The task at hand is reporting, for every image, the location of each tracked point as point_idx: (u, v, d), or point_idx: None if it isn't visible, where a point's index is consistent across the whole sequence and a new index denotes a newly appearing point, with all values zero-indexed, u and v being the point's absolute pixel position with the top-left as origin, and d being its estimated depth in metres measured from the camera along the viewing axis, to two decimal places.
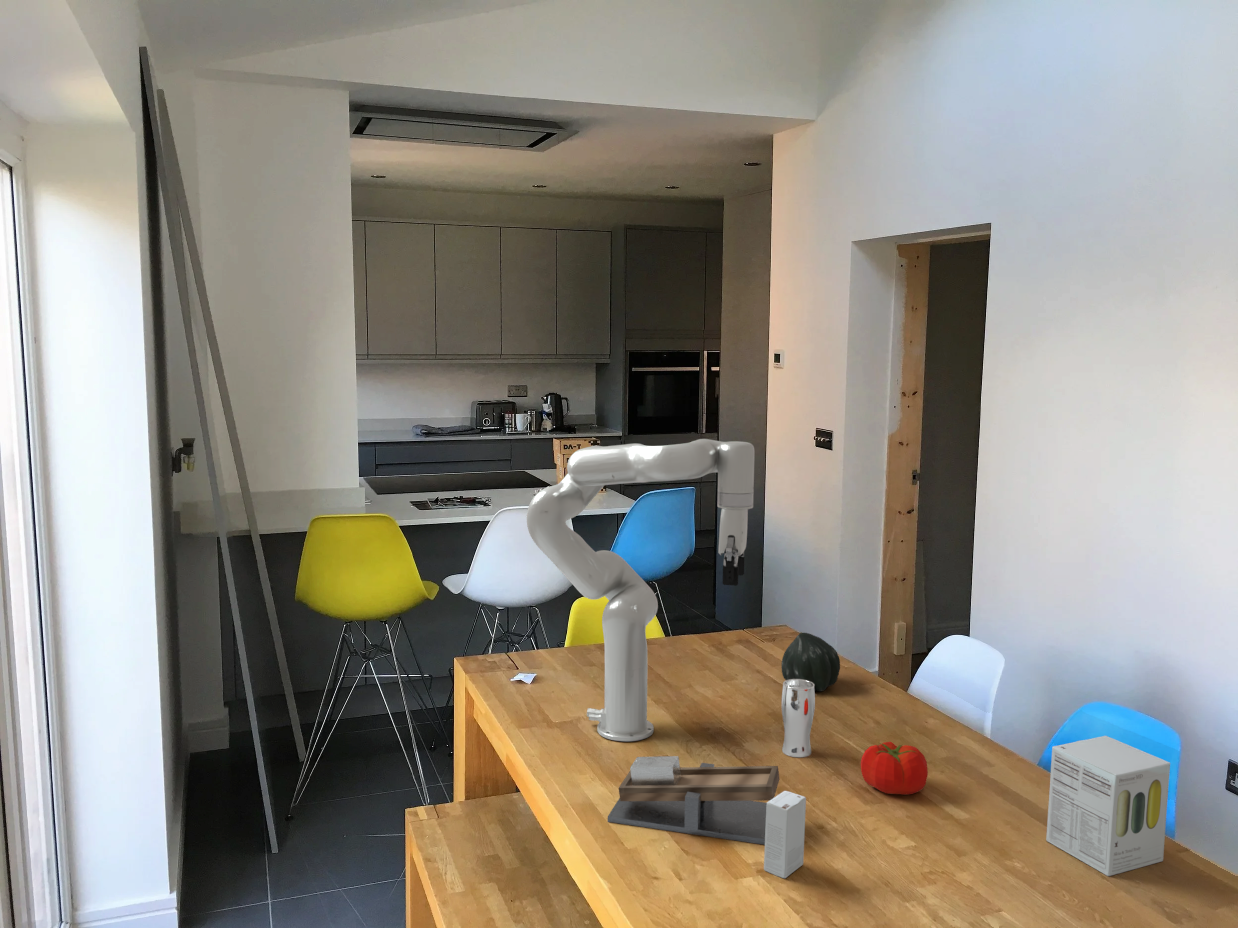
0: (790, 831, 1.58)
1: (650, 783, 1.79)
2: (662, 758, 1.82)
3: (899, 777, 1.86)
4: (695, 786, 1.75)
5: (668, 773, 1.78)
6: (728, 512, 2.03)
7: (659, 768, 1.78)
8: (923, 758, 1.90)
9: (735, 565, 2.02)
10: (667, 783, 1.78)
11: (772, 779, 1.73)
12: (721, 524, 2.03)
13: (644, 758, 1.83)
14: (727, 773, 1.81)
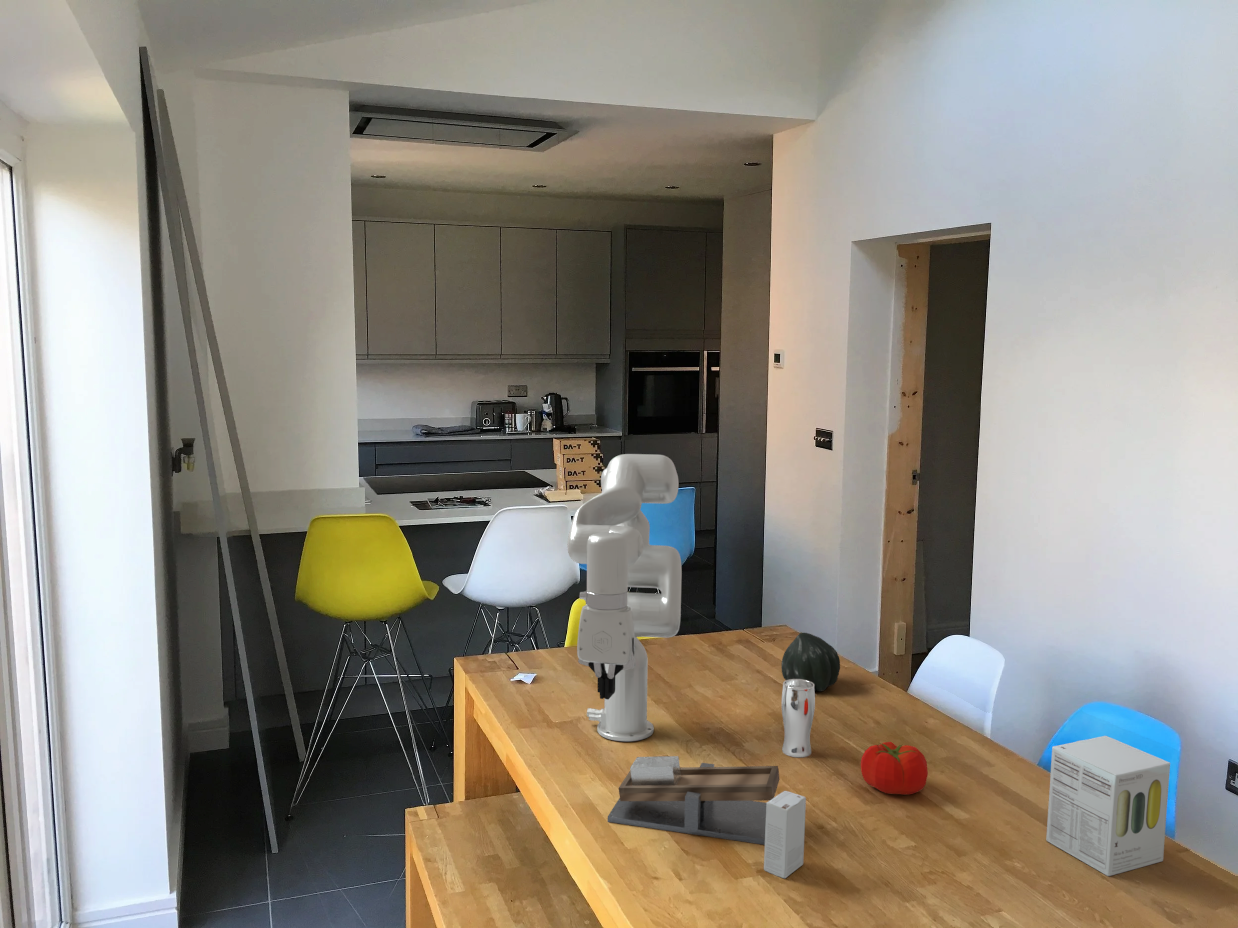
0: (790, 832, 1.58)
1: (650, 783, 1.79)
2: (662, 758, 1.82)
3: (899, 777, 1.86)
4: (695, 786, 1.75)
5: (668, 773, 1.78)
6: (629, 613, 1.78)
7: (659, 768, 1.78)
8: (923, 758, 1.90)
9: None
10: (667, 783, 1.78)
11: (772, 779, 1.73)
12: (628, 629, 1.77)
13: (644, 758, 1.83)
14: (727, 773, 1.81)
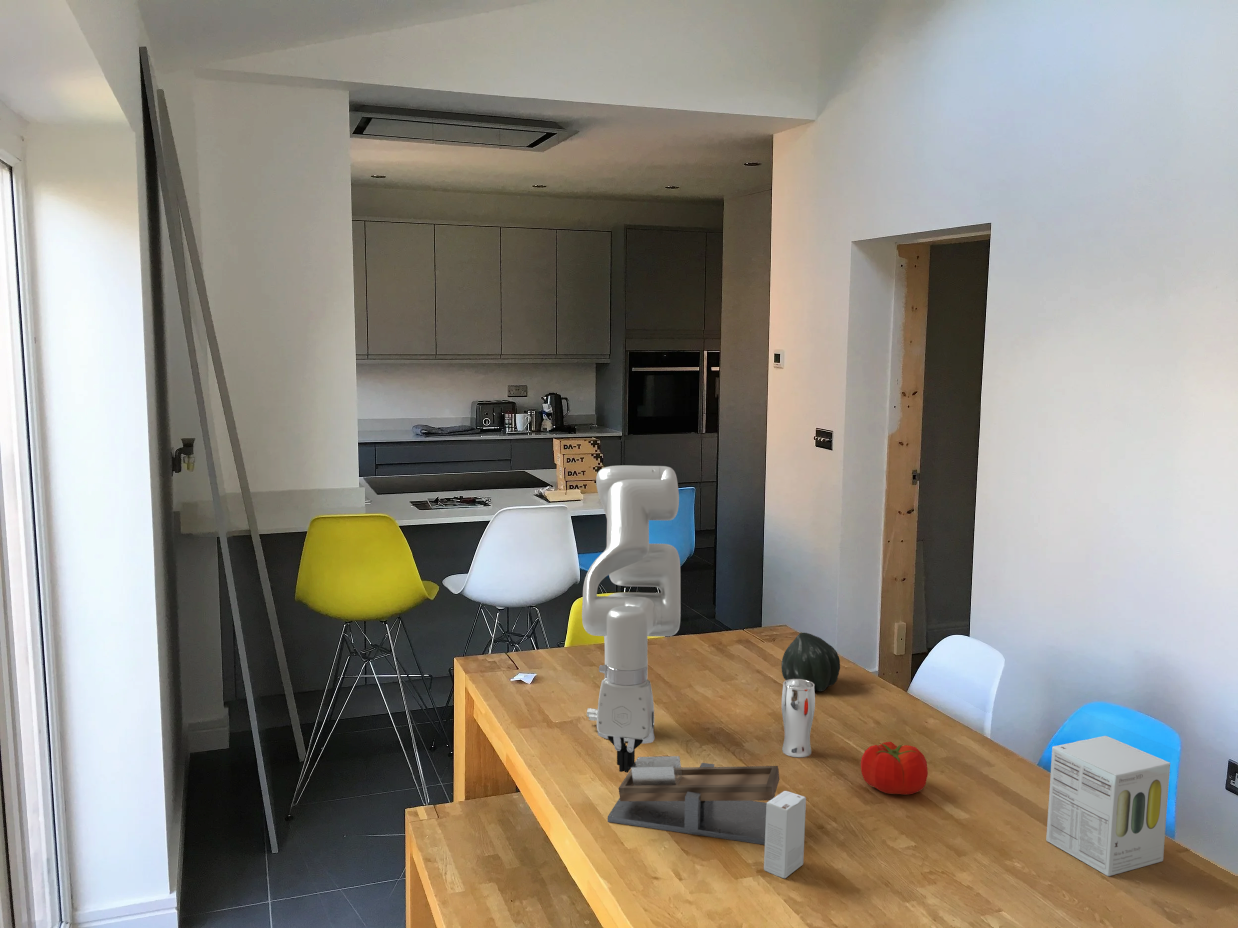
0: (790, 832, 1.58)
1: (651, 783, 1.79)
2: (663, 758, 1.82)
3: (899, 777, 1.86)
4: (695, 786, 1.75)
5: (669, 773, 1.78)
6: (649, 687, 1.79)
7: (660, 768, 1.78)
8: (923, 758, 1.90)
9: None
10: (668, 783, 1.78)
11: (772, 779, 1.73)
12: (647, 704, 1.78)
13: (645, 758, 1.83)
14: (727, 773, 1.81)
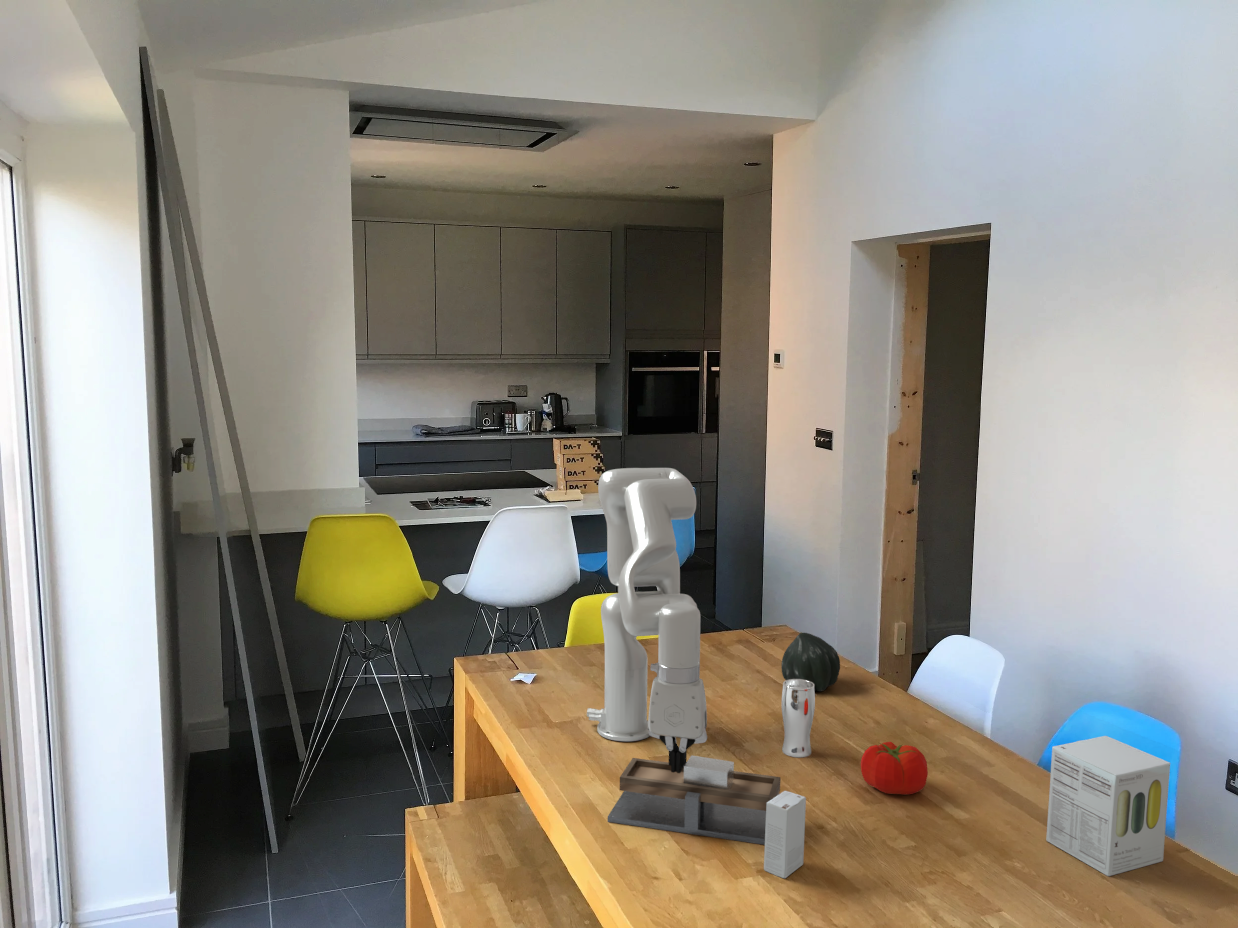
0: (790, 832, 1.58)
1: (702, 785, 1.76)
2: (717, 761, 1.78)
3: (899, 777, 1.86)
4: (697, 786, 1.75)
5: (722, 778, 1.74)
6: (702, 686, 1.75)
7: (714, 772, 1.74)
8: (923, 758, 1.90)
9: None
10: None
11: (775, 790, 1.74)
12: (700, 703, 1.74)
13: (698, 758, 1.80)
14: None
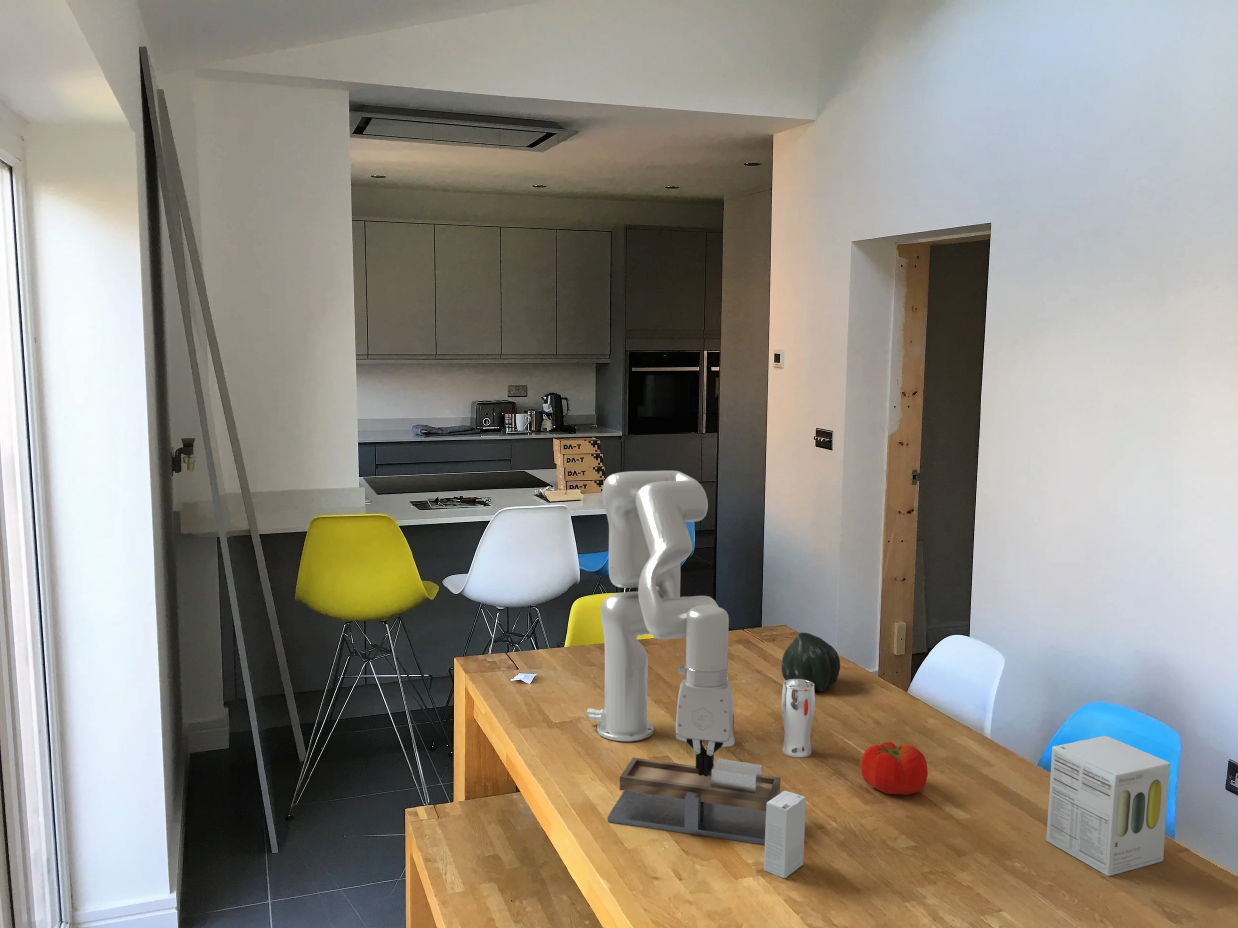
0: (790, 832, 1.58)
1: (730, 788, 1.74)
2: (745, 764, 1.77)
3: (899, 777, 1.86)
4: (697, 786, 1.75)
5: (750, 781, 1.73)
6: (730, 689, 1.74)
7: (742, 775, 1.73)
8: (923, 758, 1.90)
9: None
10: (748, 791, 1.73)
11: (775, 791, 1.74)
12: (729, 706, 1.73)
13: (726, 761, 1.79)
14: None
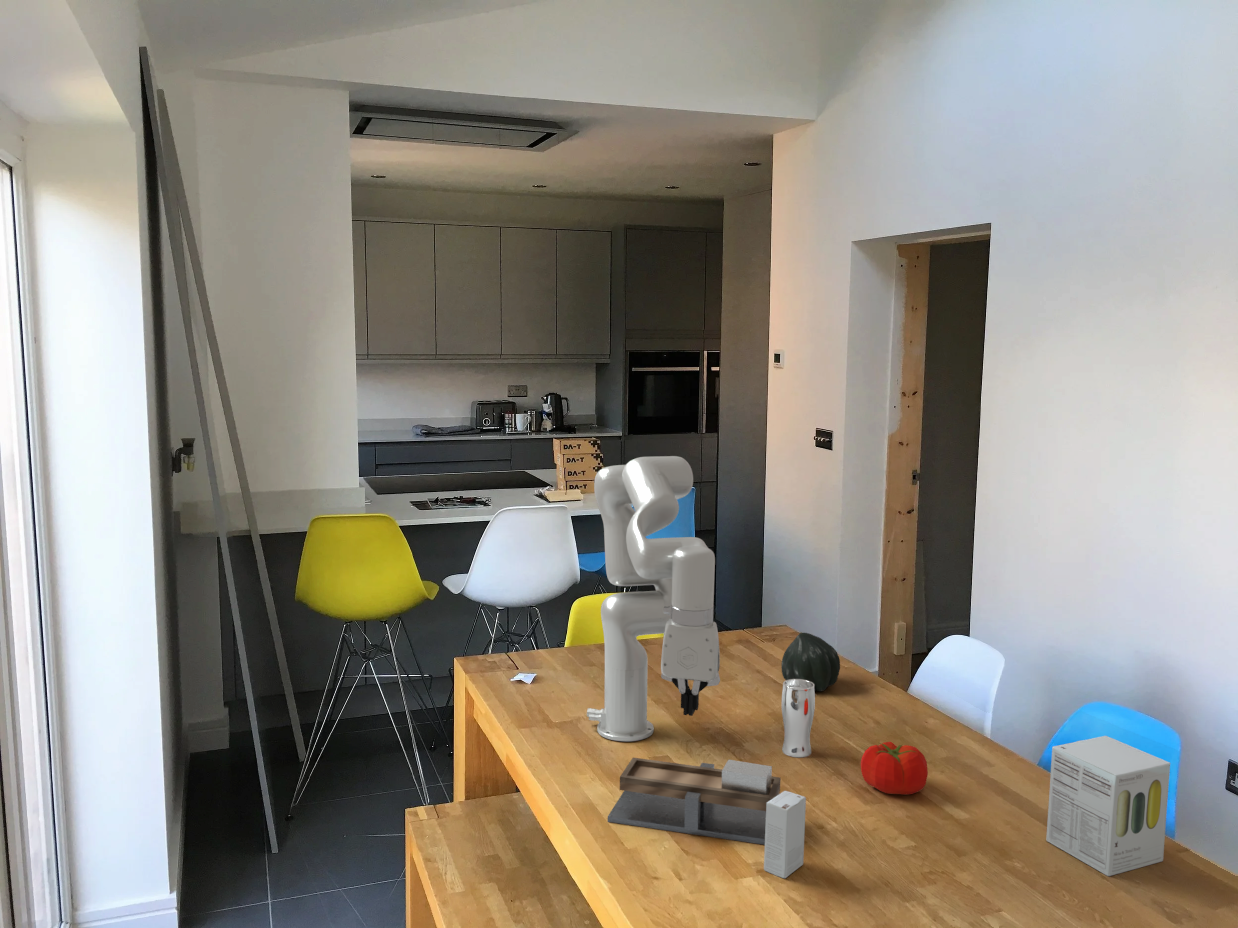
0: (790, 832, 1.58)
1: (740, 789, 1.74)
2: (755, 766, 1.77)
3: (899, 777, 1.86)
4: (697, 786, 1.75)
5: (760, 782, 1.73)
6: (716, 629, 1.74)
7: (752, 776, 1.73)
8: (923, 758, 1.90)
9: None
10: (758, 793, 1.73)
11: (775, 791, 1.74)
12: (714, 645, 1.73)
13: (736, 762, 1.78)
14: None
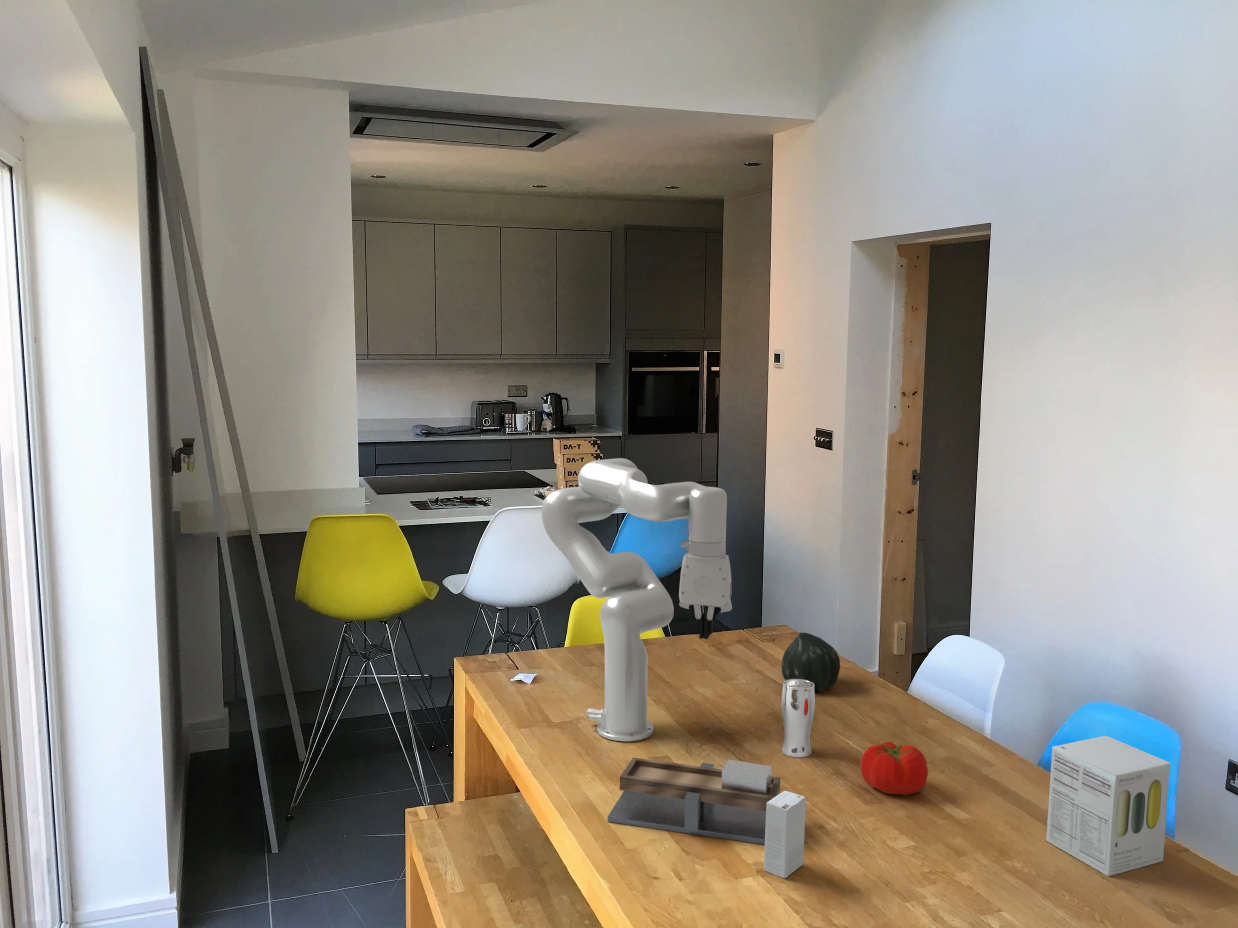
0: (790, 832, 1.58)
1: (740, 789, 1.74)
2: (755, 766, 1.77)
3: (899, 777, 1.86)
4: (697, 786, 1.75)
5: (760, 782, 1.73)
6: (728, 560, 1.95)
7: (752, 776, 1.73)
8: (923, 758, 1.90)
9: None
10: (758, 793, 1.73)
11: (775, 791, 1.74)
12: (727, 574, 1.95)
13: (736, 762, 1.78)
14: None
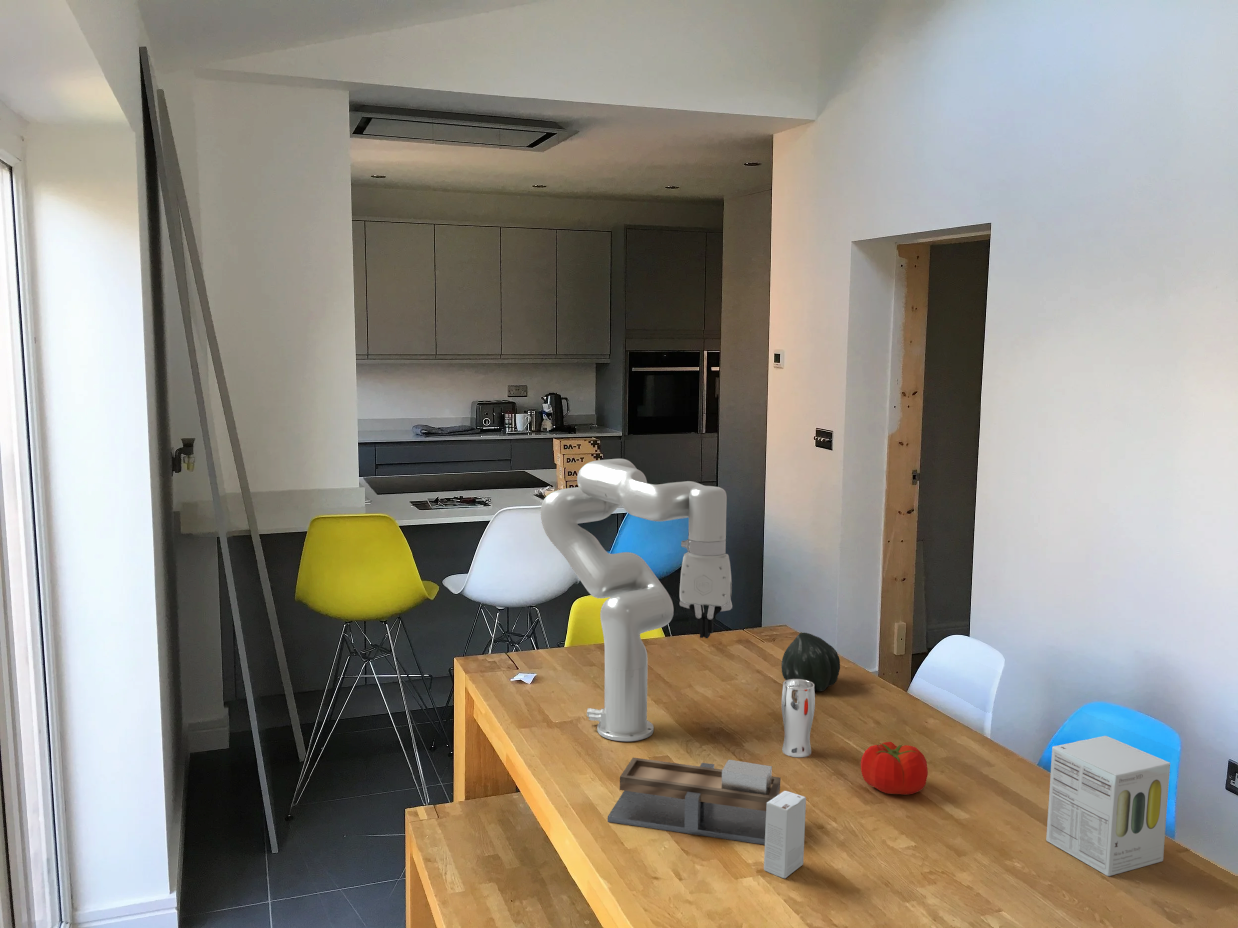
0: (790, 832, 1.58)
1: (740, 789, 1.74)
2: (755, 766, 1.77)
3: (899, 777, 1.86)
4: (697, 786, 1.75)
5: (760, 782, 1.73)
6: (728, 559, 1.96)
7: (752, 776, 1.73)
8: (923, 758, 1.90)
9: None
10: (758, 793, 1.73)
11: (775, 791, 1.74)
12: (727, 573, 1.95)
13: (736, 762, 1.78)
14: None
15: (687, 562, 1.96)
